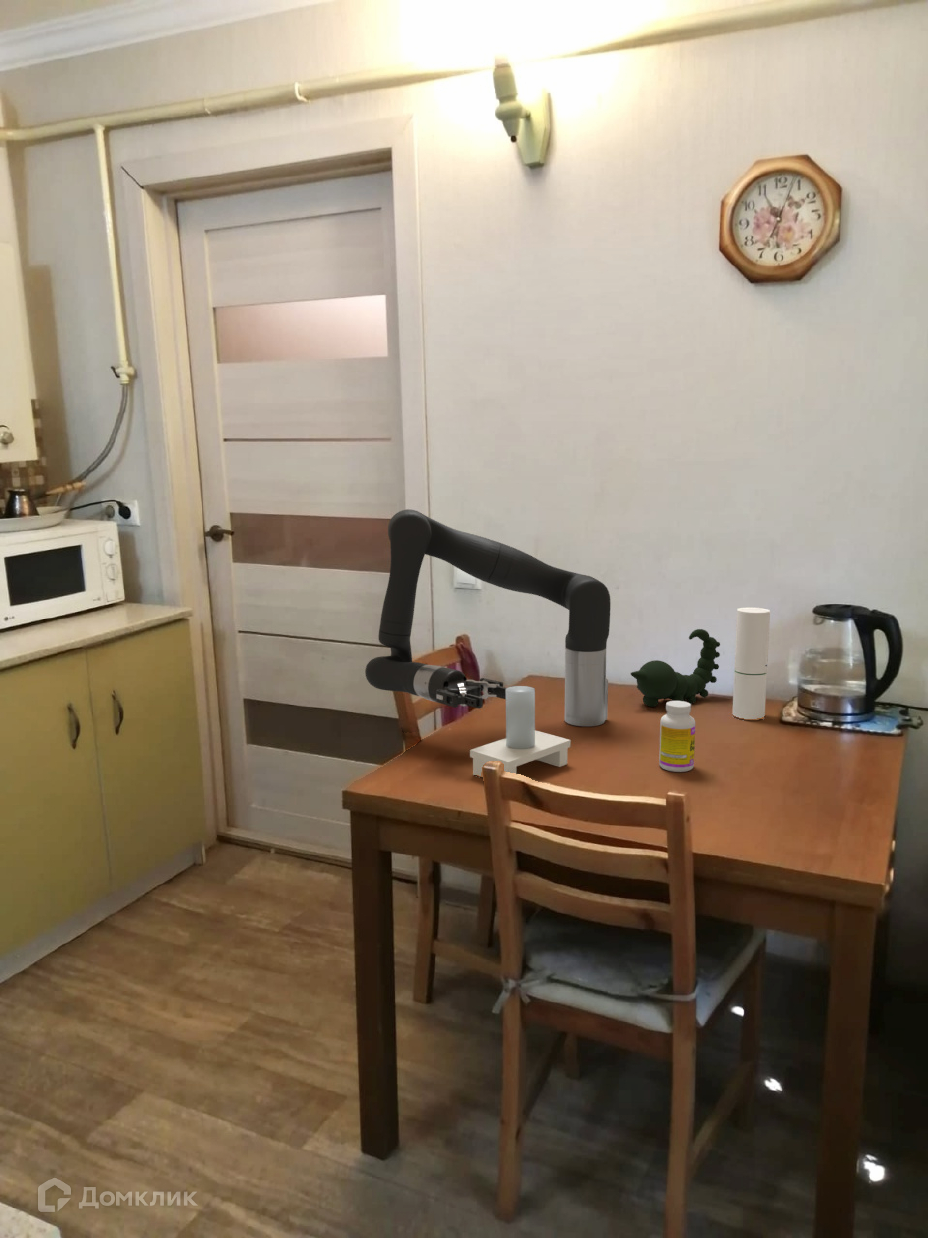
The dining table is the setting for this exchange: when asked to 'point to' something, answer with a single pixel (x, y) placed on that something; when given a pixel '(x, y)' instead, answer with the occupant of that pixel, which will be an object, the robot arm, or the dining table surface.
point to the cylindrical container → (751, 662)
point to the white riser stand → (522, 753)
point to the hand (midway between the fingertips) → (496, 699)
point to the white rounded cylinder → (520, 717)
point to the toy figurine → (678, 675)
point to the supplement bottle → (677, 737)
